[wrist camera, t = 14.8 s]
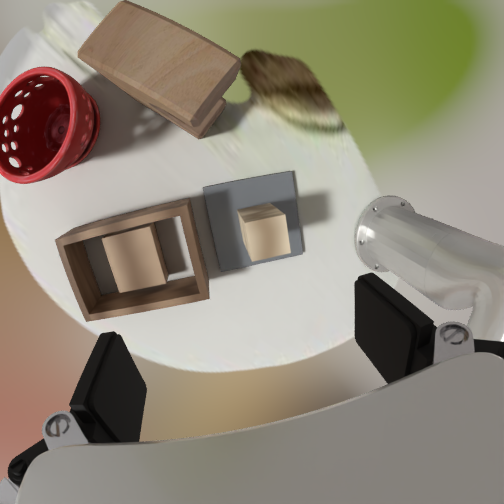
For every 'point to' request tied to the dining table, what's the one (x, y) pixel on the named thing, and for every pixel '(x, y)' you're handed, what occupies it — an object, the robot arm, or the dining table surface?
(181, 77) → the decorative block
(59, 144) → the plant pot
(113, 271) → the walnut box
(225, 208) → the mat
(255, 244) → the maple block
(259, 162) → the dining table surface
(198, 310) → the dining table surface
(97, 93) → the dining table surface
